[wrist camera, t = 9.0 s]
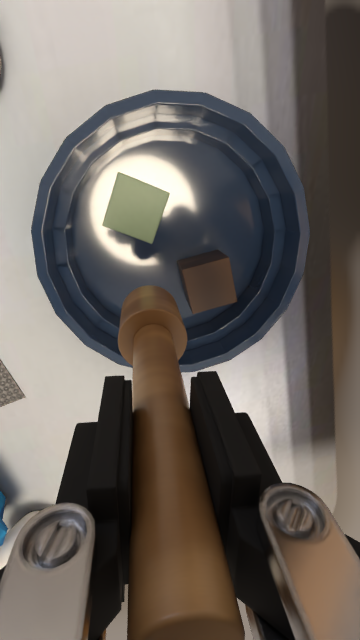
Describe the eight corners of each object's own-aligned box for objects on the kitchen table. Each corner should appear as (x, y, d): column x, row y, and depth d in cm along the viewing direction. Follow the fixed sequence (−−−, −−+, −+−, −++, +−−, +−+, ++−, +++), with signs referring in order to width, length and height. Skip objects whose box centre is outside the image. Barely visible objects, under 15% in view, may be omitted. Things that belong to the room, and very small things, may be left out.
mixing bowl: (292, 118, 28) (331, 99, 22) (265, 340, 35) (289, 368, 29) (38, 105, 25) (9, 80, 20) (66, 346, 33) (51, 378, 27)
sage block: (165, 193, 28) (170, 193, 24) (150, 238, 29) (152, 244, 25) (120, 174, 27) (118, 171, 23) (106, 221, 28) (101, 225, 25)
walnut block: (218, 249, 30) (229, 257, 27) (226, 289, 32) (237, 302, 28) (176, 260, 30) (181, 269, 26) (186, 300, 32) (192, 314, 28)
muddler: (178, 284, 18) (307, 570, 4) (177, 336, 19) (276, 692, 6) (120, 285, 18) (64, 602, 4) (122, 338, 19) (86, 724, 5)
